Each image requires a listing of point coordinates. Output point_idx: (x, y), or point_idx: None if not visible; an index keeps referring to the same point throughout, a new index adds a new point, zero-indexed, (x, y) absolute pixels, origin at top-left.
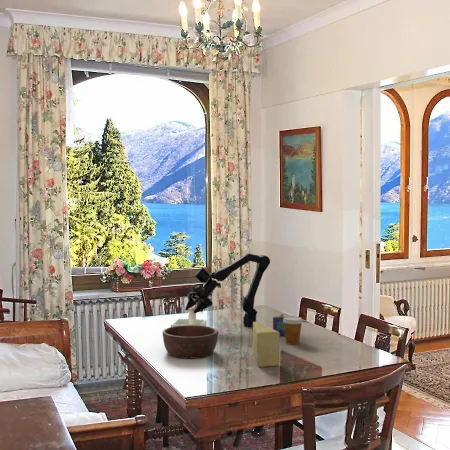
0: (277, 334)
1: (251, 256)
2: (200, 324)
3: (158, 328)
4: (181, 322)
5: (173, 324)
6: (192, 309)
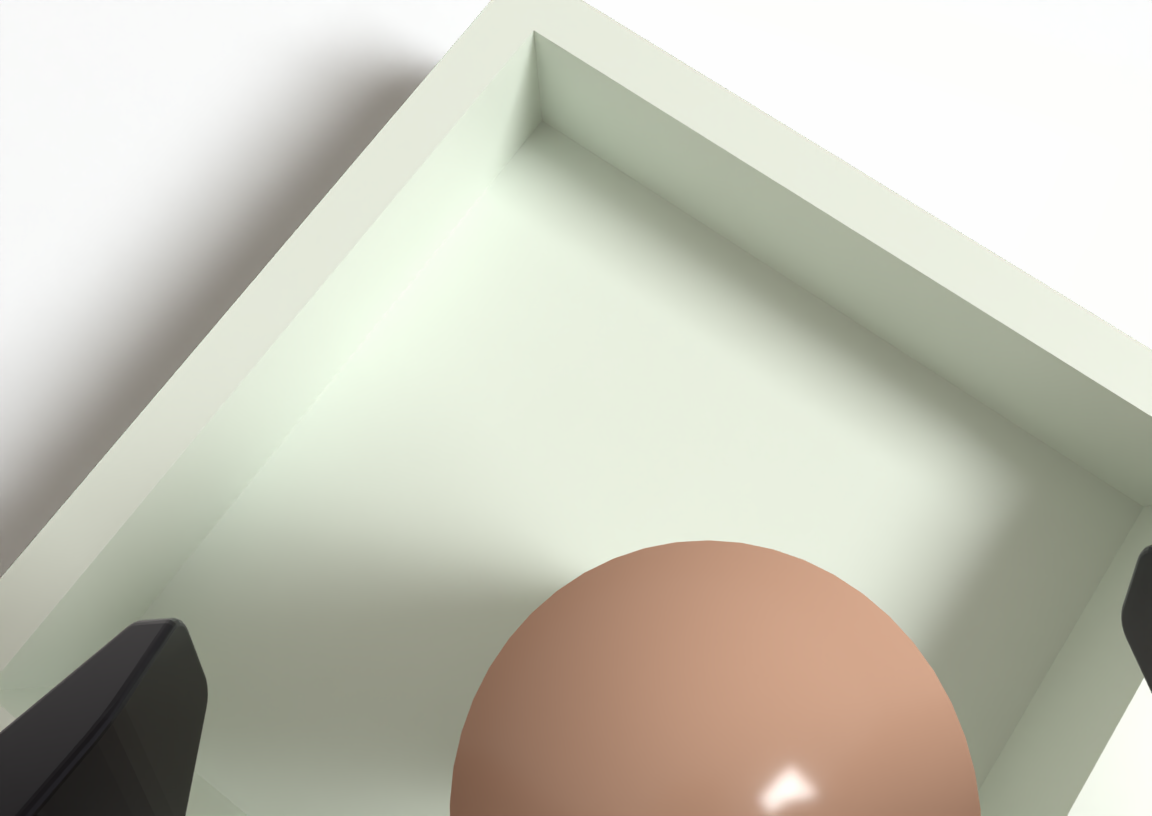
0: None
1: None
2: None
3: (1051, 5)
4: None
5: (586, 72)
6: (473, 706)
